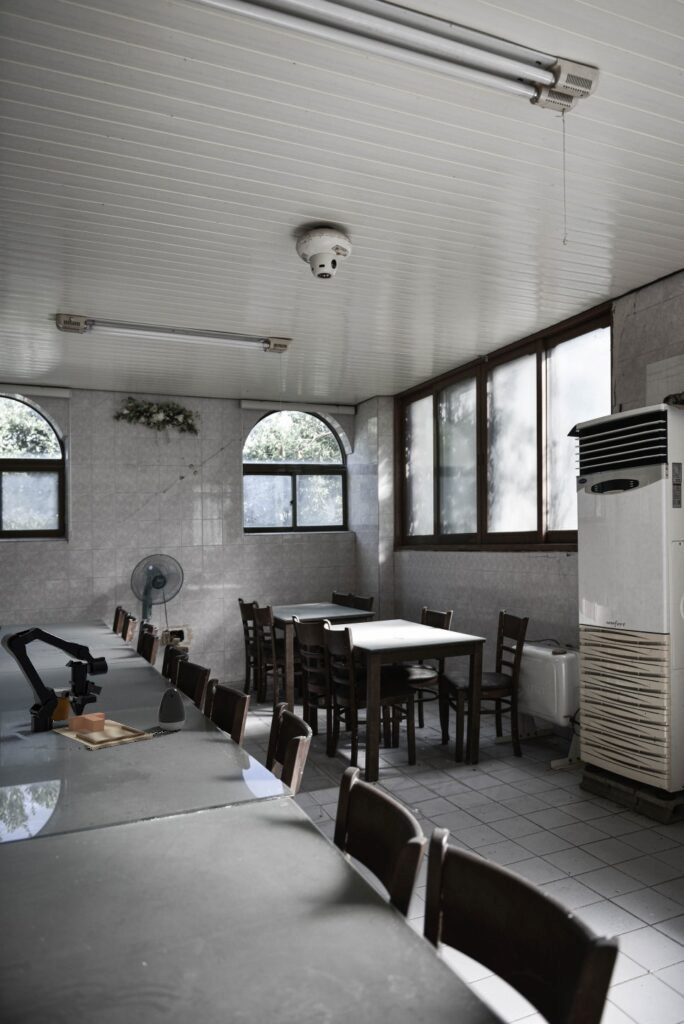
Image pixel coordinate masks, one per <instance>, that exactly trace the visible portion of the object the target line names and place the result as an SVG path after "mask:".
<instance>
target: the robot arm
mask: <svg viewBox="0 0 684 1024" xmlns="http://www.w3.org/2000/svg"><path fill="white" fill-rule="evenodd" d="M35 640H37V641H40V642H42V643H44V644H46V645H49V646H51V647H54V648H56V649H58V650H61V651H62V652H63V653H64V654H65V655H67V656H69V658H71V659H69V661H68V662H67V663H66V664H65V665H64V666H65V667H67V668H70V680H69V681H68V684H70V688H71V689H70V690H64V691H63V692H62V693H61V698H63V699H66V697H70V700H69V701H68V702H69V704H70V709H71V710H72V712H73V715H74V717H76V716H81V715H83V713H84V709H85V707H86V706H87V705H88V704H95V703H97V702H98V697H97V696H96V695H98V696H100V695H101V694H102V693H101V692H102V689H103V686H100V685H97V684H96V682H94V681H92V680H91V681H90V679H88V675H89V676H91V677H94V676H96V677H97V676H103V675H107V673H108V671H109V670H108V669H109V665H108V662H107V660H106V656H99V657H93V655H92V654H91V652H90V648H89V646H88V645H86V644H82V643H81V644H80V643H77V642H72V641H68V640H66V639H64V638H62V637H59V636H56V635H55V634H52V633H50V632H48V631H46V630H43V629H42V628H40V627H36V626H33V627H30V628H28V629H25V630H22V631H21V630H20V631H19V632H15V633H11V632H10V633H6V634H5V635H3V636H2V638H1V641H0V645H1V647H2V648H3V649H4V650H5V651H6V653H8V655H10V657H12V659H14V661H15V662H16V664H17V666H18V668H19V669H20V671H21V674H22V675H23V676H24V678H25V680H26V682H27V683H28V686H29V687H30V689H31V690H32V693H33V694H32V695H33V700H34V704H33V705H32V706H31V707H30V708H29V709H28V711H29V714H30V731H31V732H32V733H33V734H34V733H35V734H36V733H44V732H49V731H53V729H54V722H53V719H52V715H53V713H54V710H55V709H56V708H57V705H58V700H57V698H59V697H58V696H56V694H55V691H54V689H53V688H52V687H49V686H45V684H44V682H43V680H42V678H41V676H40V675H39V674H38V672H37V670H36V668H35V666H34V664H33V663H32V661H31V659H30V657H29V655H28V654H27V653H28V652H27V646H26V645H28V644H30V643H32V642H34V641H35ZM72 659H74V660H77V661H74V660H72ZM82 661H83V662H82ZM95 684H96V685H95Z"/></svg>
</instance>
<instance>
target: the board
mask: <svg viewBox="0 0 684 1024" xmlns="http://www.w3.org/2000/svg"><path fill="white" fill-rule="evenodd" d="M52 731H54V732H56V733H58V734H61V735H63V736H65V737H67V738H70V739H71V740H74V741H77V742H79V743H81V744H84V746H85V747H84V748H86V747H87V748H86V749H88V748H90V749H89V750H91V749H92V750H91V751H94V750H93V749H96V750H100V749H99V748H101V749H106V748H110V746H111V747H114V746H115V745H116V746H120V744H121V745H125V743H126V744H130V742H131V743H135V741H136V742H139V741H144V740H149V739H153V738H154V736H153V734H151V733H149V732H145V731H142V730H139V729H137V728H133V727H130V726H127V725H125V724H122V723H119V722H116V721H113V720H111V719H105V725H104V731H98V732H91V731H89V730H86V729H79V730H74V731H73V730H71V729H69V726H65V727H60V728H55V729H54V728H53V729H52ZM116 746H115V747H116ZM105 747H106V748H105Z"/></svg>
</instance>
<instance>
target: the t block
mask: <svg viewBox="0 0 684 1024" xmlns="http://www.w3.org/2000/svg"><path fill="white" fill-rule="evenodd" d="M105 716H106V714H105V713H103V712H94V713H89V714H82V715H81V716H69V719H68V727H69V729H71V730H73V731H74V730H79V729H86V730H89V731H91V732H98V731H104V725H105V720H106V717H105Z"/></svg>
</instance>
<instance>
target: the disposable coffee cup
mask: <svg viewBox="0 0 684 1024" xmlns="http://www.w3.org/2000/svg"><path fill="white" fill-rule="evenodd" d="M53 689H54V691H55V694H56V696H58V697H59V698H57V700H58V705H57V708H56V709H55V710H54V713H53V715H52V719H53V720H54V721H57V722H60V721H61V720H62V721H67V720H66V719H68V718H70V711H71V706H70V704H69V702H68V701H69V700H70V697H66V699H63V698H61V693H62V692H63V691H64V690H70V689H71V687H69V686H68V687H65V686H63V687H55V688H53ZM68 720H69V719H68Z"/></svg>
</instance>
